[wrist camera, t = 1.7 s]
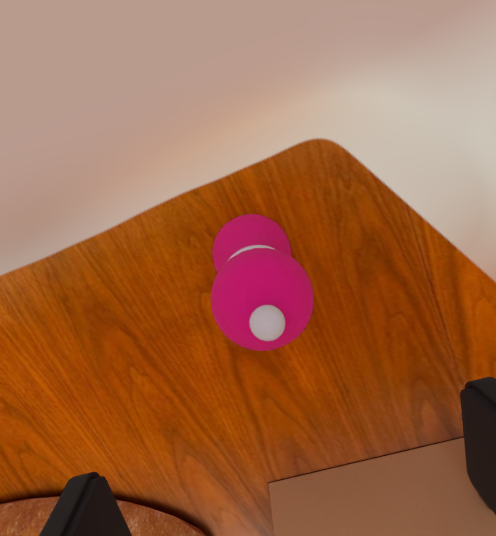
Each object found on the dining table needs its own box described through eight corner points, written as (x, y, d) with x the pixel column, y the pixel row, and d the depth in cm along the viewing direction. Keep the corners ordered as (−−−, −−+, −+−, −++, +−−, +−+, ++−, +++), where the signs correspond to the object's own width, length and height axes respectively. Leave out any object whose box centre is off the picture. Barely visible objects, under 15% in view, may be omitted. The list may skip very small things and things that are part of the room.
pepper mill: (202, 229, 34) (162, 301, 15) (265, 196, 34) (307, 227, 14) (235, 288, 36) (236, 418, 17) (295, 258, 35) (367, 358, 16)
